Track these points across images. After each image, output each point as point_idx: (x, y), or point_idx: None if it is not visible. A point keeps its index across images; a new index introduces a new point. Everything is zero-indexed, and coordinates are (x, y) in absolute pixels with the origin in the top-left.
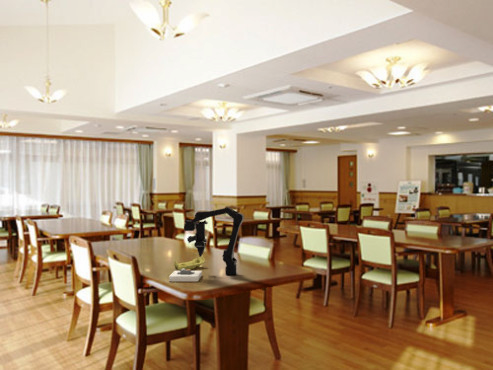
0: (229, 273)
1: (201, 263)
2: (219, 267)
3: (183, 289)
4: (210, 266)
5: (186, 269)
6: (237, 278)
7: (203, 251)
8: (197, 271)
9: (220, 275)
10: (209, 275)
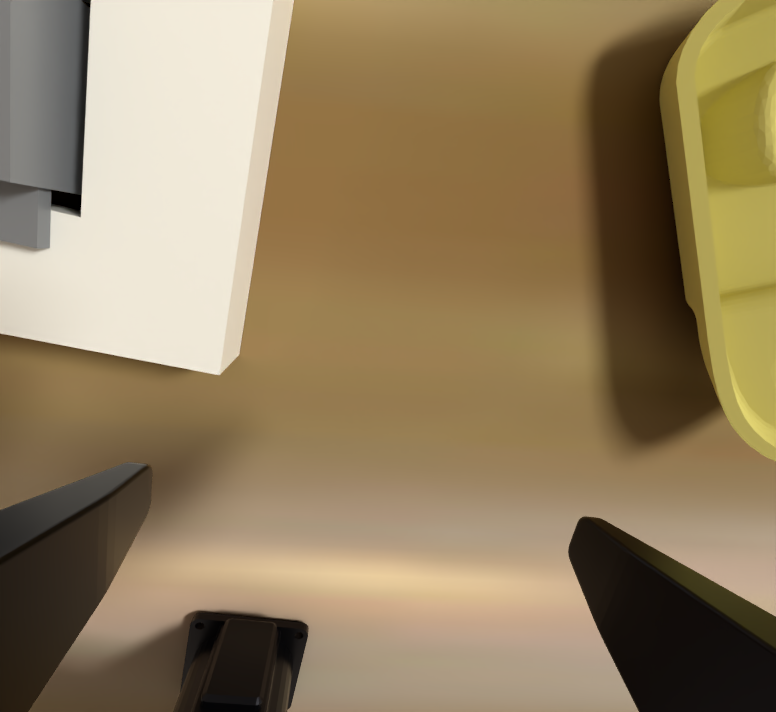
0: (194, 659)
1: (722, 406)
2: None
3: None
4: (732, 485)
5: (668, 169)
6: (39, 696)
7: (610, 652)
8: (163, 306)
9: (212, 558)
10: (230, 446)
